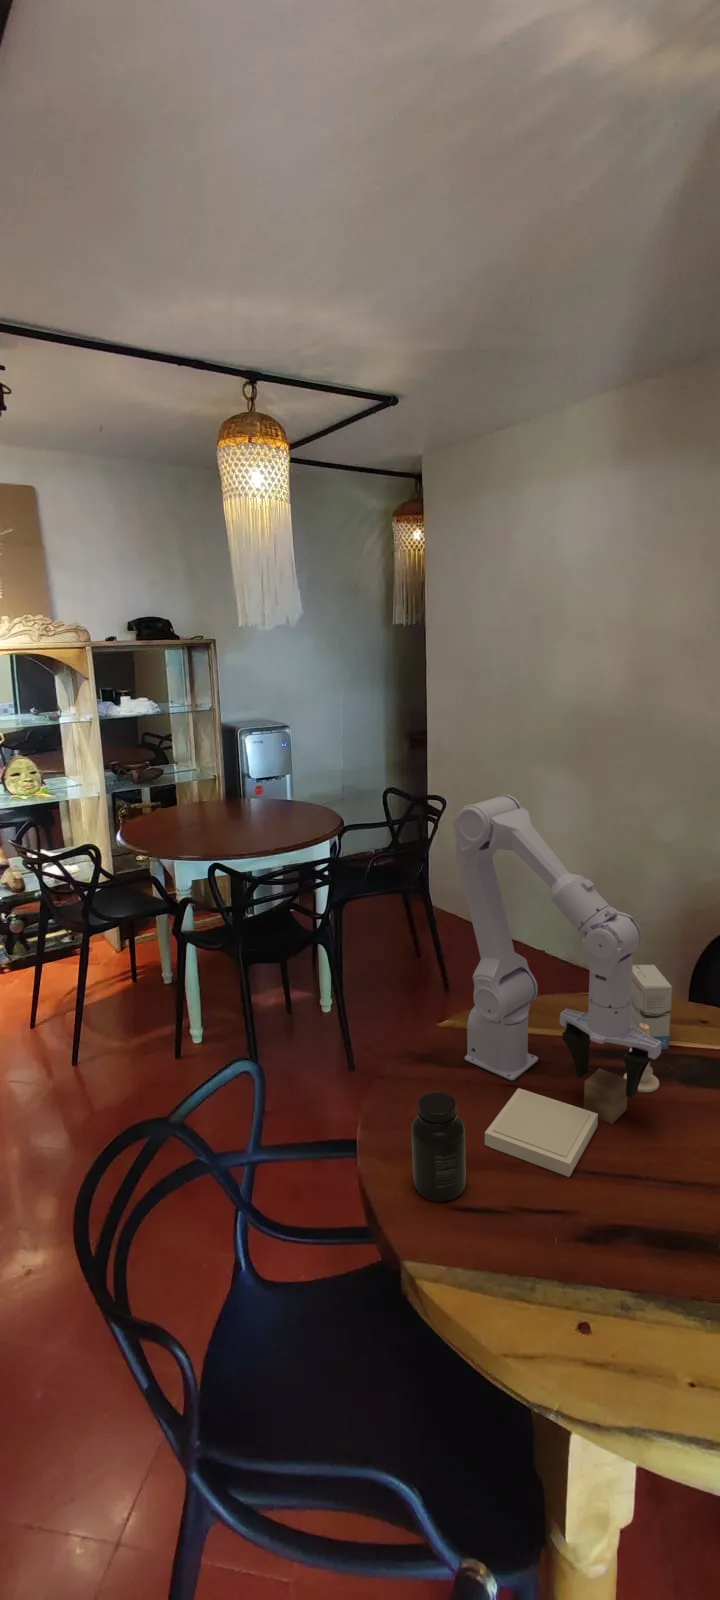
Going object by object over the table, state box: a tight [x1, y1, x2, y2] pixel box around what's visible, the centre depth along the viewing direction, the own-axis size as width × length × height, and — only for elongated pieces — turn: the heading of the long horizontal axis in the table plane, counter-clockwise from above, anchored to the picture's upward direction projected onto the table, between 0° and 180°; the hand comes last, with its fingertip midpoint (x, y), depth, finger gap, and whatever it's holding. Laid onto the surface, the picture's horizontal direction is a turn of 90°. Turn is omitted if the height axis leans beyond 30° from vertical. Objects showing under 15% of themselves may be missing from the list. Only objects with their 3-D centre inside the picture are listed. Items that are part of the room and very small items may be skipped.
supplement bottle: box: [410, 1091, 467, 1202], centre depth 98 cm, size 7×7×12 cm
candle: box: [623, 1022, 660, 1093], centre depth 117 cm, size 5×5×10 cm
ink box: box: [630, 964, 673, 1051], centre depth 130 cm, size 8×5×12 cm, turn 179°
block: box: [583, 1068, 628, 1125], centre depth 112 cm, size 4×4×5 cm
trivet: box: [484, 1087, 599, 1178], centre depth 107 cm, size 12×12×2 cm
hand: (606, 1083), depth 111 cm, fingers open, 7 cm apart
